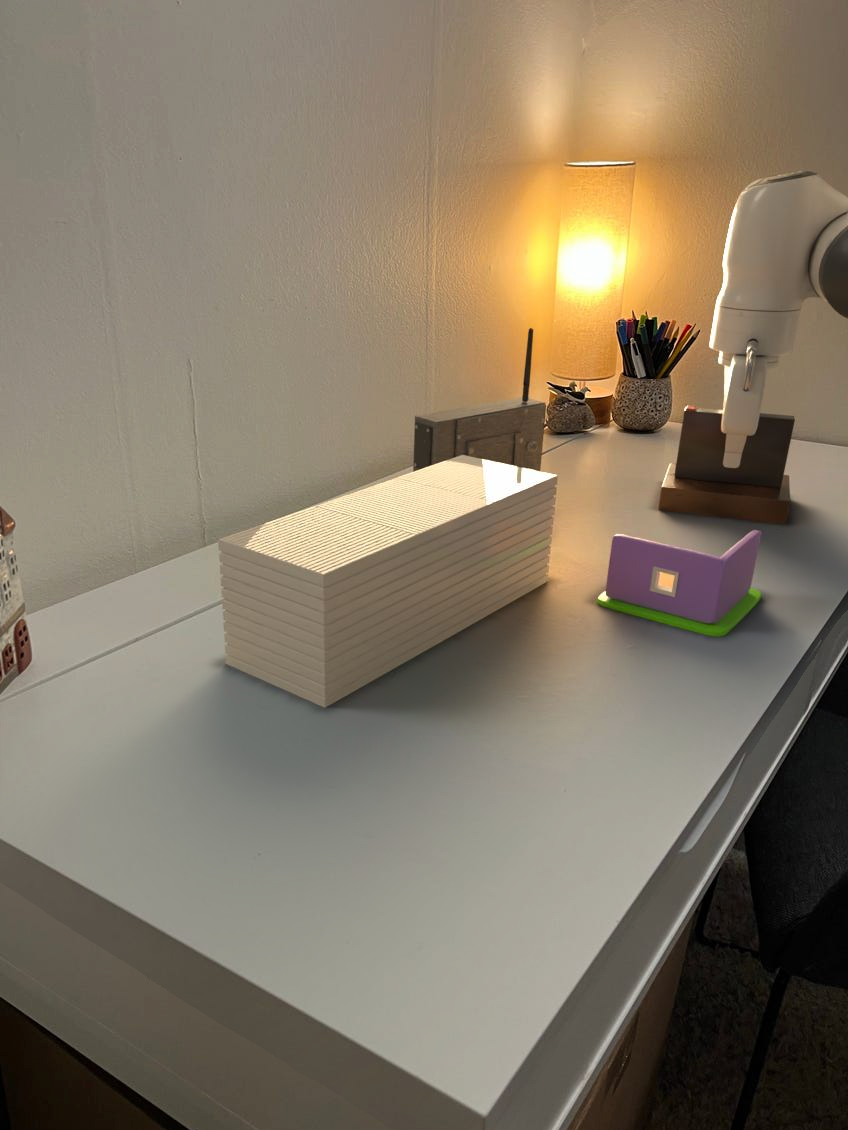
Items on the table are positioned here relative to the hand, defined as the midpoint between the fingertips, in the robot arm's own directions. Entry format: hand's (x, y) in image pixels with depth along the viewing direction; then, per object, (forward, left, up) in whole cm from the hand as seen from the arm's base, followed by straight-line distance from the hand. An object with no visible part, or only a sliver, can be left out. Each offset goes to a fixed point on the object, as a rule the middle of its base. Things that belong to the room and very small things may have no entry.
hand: (731, 455), depth 113 cm
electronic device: (+15, +25, -6) cm, 30 cm away
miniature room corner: (-16, +28, -6) cm, 33 cm away
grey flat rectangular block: (0, 0, -3) cm, 3 cm away
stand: (0, 0, -6) cm, 6 cm away
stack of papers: (-5, +52, -6) cm, 53 cm away
